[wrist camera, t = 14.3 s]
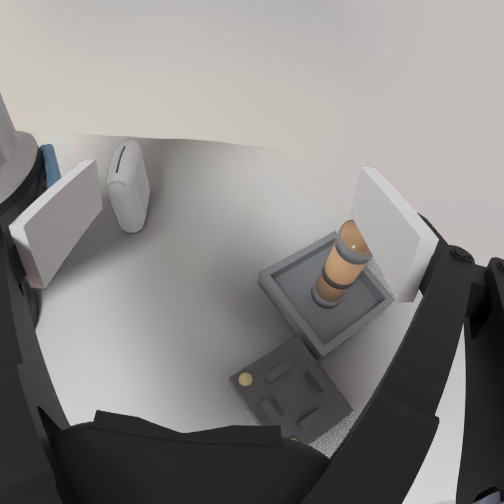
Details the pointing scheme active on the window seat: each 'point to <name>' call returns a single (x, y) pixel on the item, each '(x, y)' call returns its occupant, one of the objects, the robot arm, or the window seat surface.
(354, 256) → the fuse
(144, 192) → the grey rounded slab
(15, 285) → the robot arm
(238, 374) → the fuse holder
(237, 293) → the window seat surface
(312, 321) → the parts tray
